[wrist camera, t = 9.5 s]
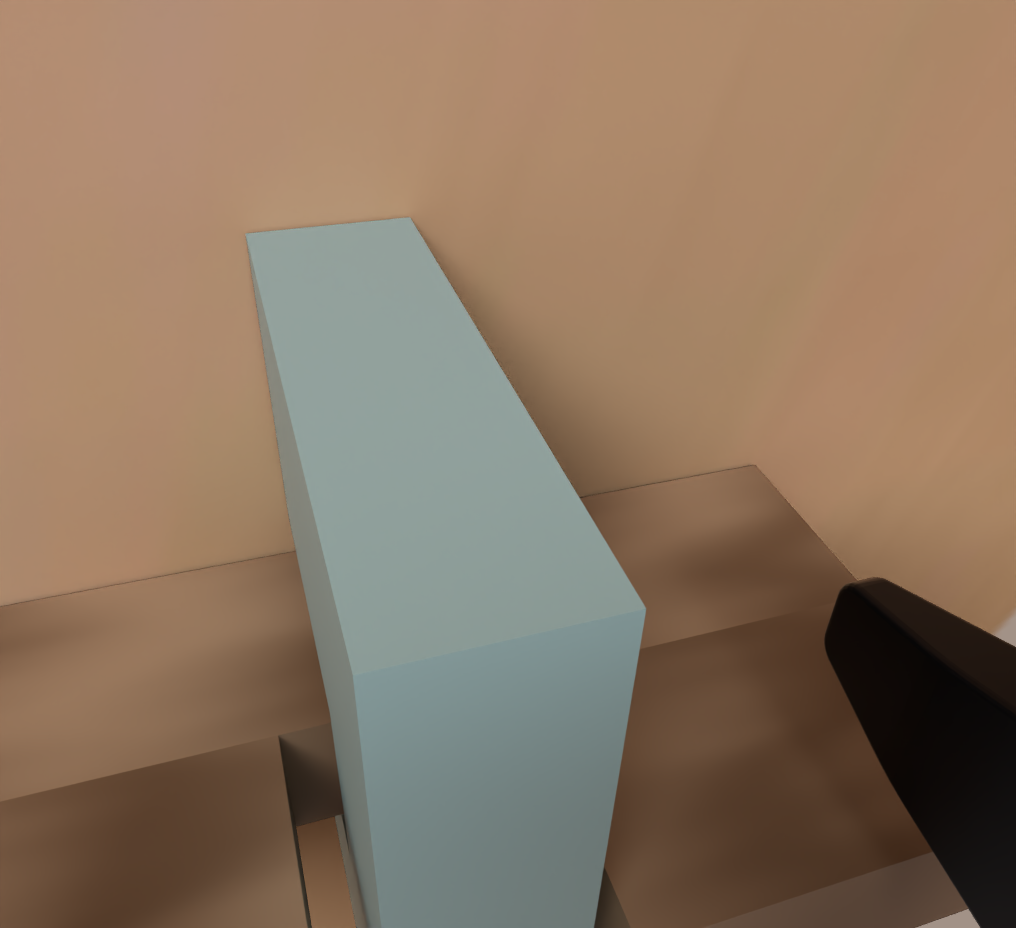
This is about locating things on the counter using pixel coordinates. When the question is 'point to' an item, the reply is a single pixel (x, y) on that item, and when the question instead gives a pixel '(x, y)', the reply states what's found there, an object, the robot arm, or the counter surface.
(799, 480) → the counter surface
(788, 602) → the walnut slotted plate
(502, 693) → the teal slotted plate
